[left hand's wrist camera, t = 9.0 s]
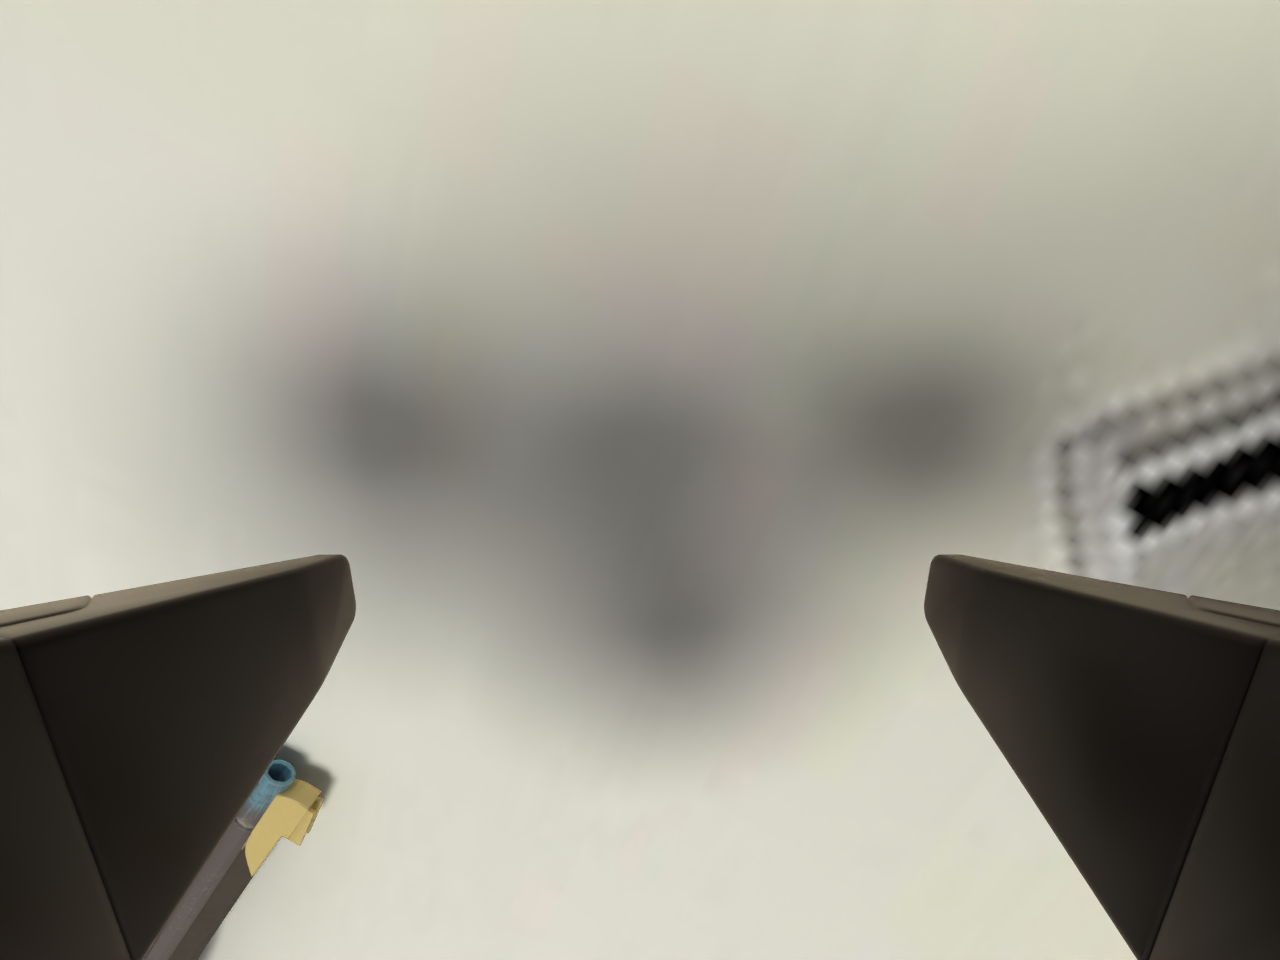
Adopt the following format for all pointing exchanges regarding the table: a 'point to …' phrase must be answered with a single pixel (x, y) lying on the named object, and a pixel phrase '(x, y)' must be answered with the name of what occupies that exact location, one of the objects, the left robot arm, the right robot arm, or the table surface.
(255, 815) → the toy gun
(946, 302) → the table surface
